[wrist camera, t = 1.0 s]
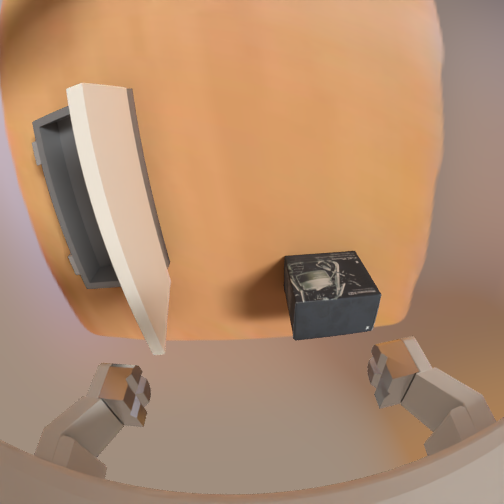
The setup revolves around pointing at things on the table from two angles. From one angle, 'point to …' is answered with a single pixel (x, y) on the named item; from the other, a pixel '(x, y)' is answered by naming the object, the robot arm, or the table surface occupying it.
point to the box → (329, 295)
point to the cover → (121, 203)
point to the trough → (81, 196)
